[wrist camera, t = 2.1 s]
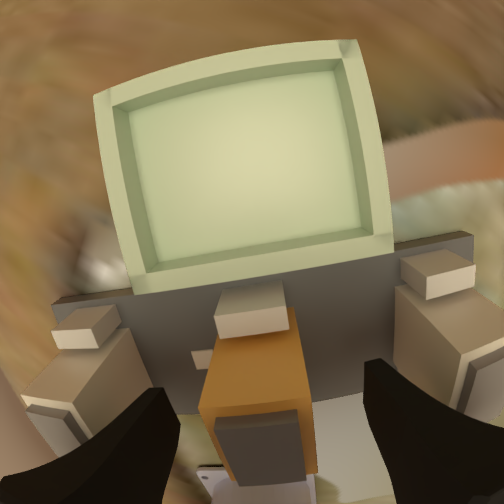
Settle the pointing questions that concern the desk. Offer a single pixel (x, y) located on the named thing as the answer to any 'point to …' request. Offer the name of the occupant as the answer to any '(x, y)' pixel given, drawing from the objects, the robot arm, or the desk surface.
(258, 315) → the panel
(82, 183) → the desk surface
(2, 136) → the desk surface
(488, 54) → the desk surface
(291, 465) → the block
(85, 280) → the desk surface
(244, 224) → the tray
